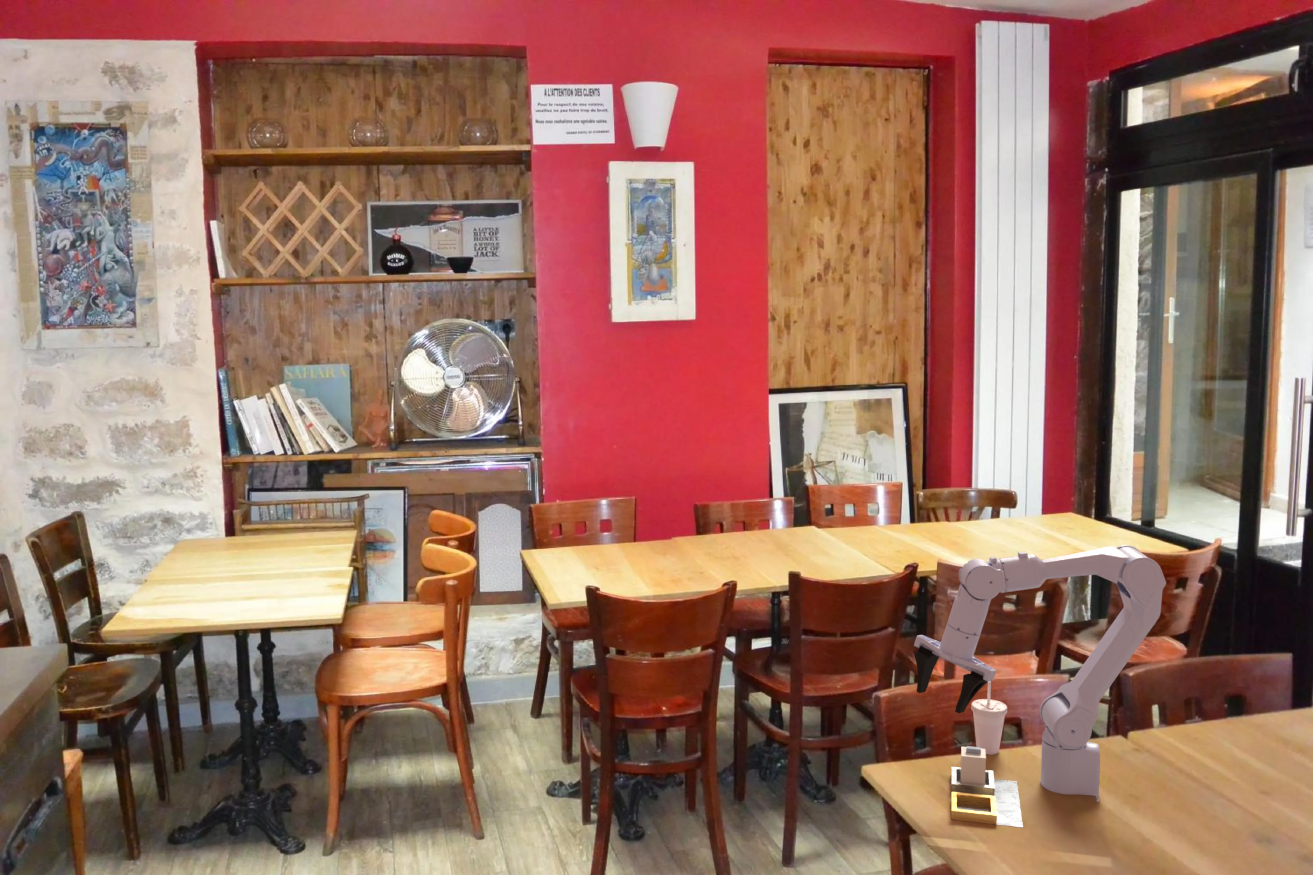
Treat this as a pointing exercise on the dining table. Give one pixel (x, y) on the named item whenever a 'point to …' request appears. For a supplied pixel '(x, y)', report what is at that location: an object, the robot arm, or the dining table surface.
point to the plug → (973, 765)
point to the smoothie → (988, 722)
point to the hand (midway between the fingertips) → (939, 701)
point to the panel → (985, 801)
